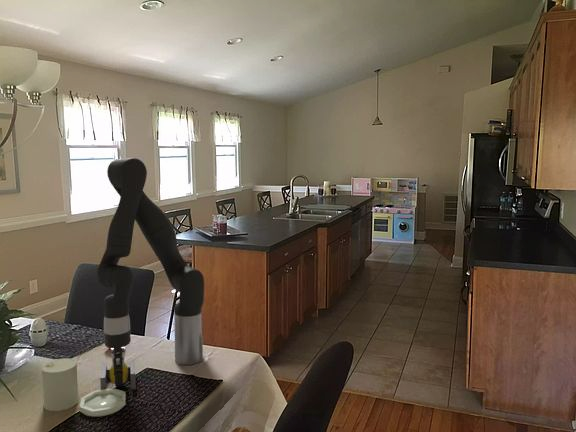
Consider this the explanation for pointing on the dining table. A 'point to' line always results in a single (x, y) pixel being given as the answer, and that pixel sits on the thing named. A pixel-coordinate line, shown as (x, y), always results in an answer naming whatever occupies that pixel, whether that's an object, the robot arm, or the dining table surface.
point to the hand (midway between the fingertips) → (119, 381)
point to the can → (60, 384)
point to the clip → (105, 376)
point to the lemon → (125, 370)
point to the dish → (102, 402)
